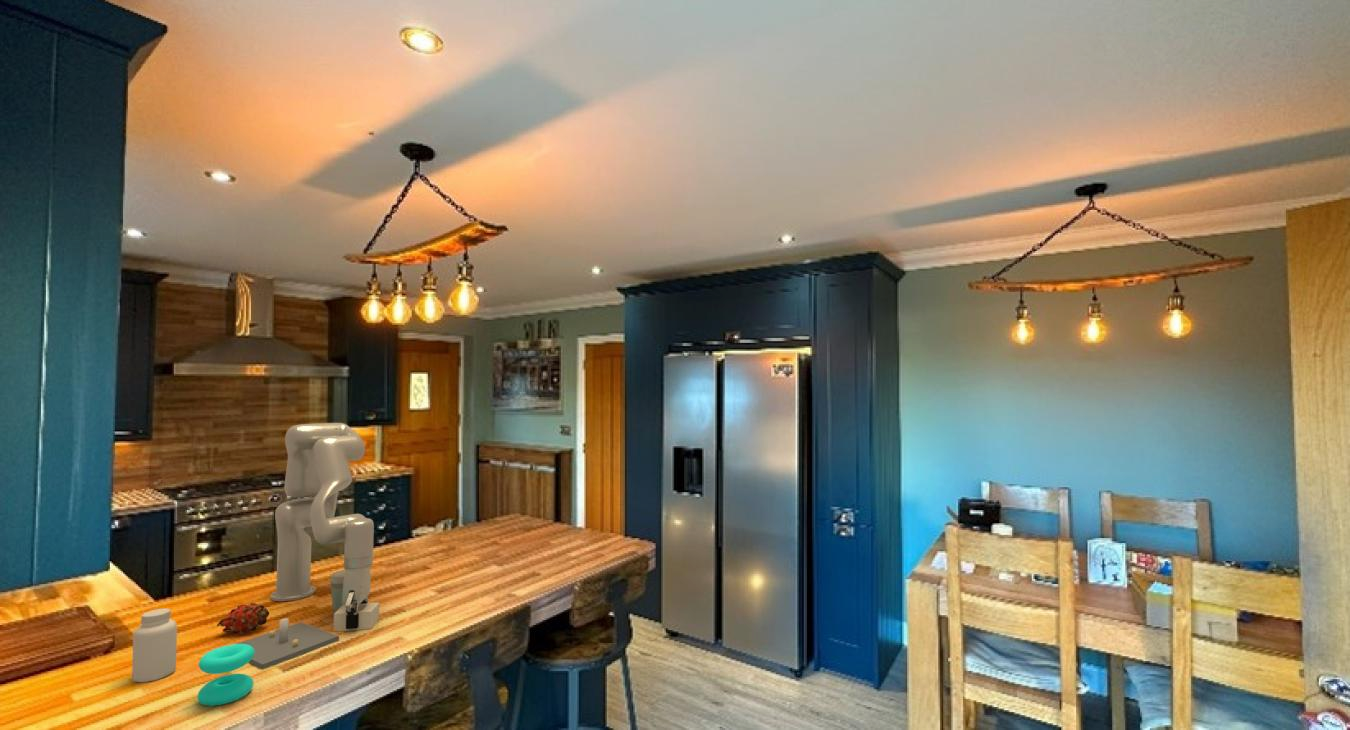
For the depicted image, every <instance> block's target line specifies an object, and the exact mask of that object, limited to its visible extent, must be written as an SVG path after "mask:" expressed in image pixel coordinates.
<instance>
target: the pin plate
mask: <svg viewBox="0 0 1350 730" xmlns="http://www.w3.org/2000/svg"><path fill="white" fill-rule="evenodd" d="M289 621H290V620H289V618H288V617H284V618H281V619H279V629H272V630H269V632H267V633H263V634H260V635H257V636H254V637H252V638H248V639H245V640H243V641H240V642H236V643H235V644H247V645H250V646H252V647H253V649H254V656H253V658H252V659H251V660H250V661H249V662H248V663H247V664H250V665H252V666H255V667H256V668H259V669H261V670H265V669H267V668H270V667H273V666H275V665H278V664H280V663H283V662H286V661H288V660H291V659H293V658H296V657H298V656H302V655H304V654H307V653H309V652H312V651H315V650H317V649H320V648H322V647H325V646H328V645H331V644H333V643H335V642H338V641H340V635H338V634H335V633H332V632H330V631H327V630H323V629H322V628H319V627H316V626H313V625H311V624H307V623H305V622H302V621H300V622H296V623H294V624H291V625H289V623H290V622H289Z"/></svg>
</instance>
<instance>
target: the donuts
mask: <svg viewBox="0 0 1350 730" xmlns="http://www.w3.org/2000/svg"><path fill="white" fill-rule="evenodd" d="M253 656H254V649H253V647H252V646H250V645H247V644H236V643H233V644H229V645H223V646H221V647H217V648H215V649H212V650H209V651H208V652H206V653H205V654H204V655H203V656H201V657H200V660H198V668H199V670H200V671H202V672H203V673H205V674H209V675H218V674H219V675H220V674H225V673H230V672H234V671H236V670H238V669H241V668H243V667H244V666H246V665H247V664H249V663H248V662H249V661H250V660H251V659H252V658H253ZM253 687H254V679H253V678H252V677H251V676H250V675H248V674H245V673H230V674H226V675H222V676H218V677H216V678H213V679H212V680H211V681H208V682H207V683H206V684H204V685H203V686H202V687H201V688H200V690H199V691H198V693H197V701H198V702H199V704H201V705H204V706H208V707H210V706H211V707H212V706H213V707H215V706H220V705H226V704H229V703H233V702H235V701H237V700H240V699H242V698H243V697H245V696H246V695H247V694H248V693H250V692H251V691H252V689H253Z"/></svg>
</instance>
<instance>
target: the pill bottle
mask: <svg viewBox="0 0 1350 730" xmlns="http://www.w3.org/2000/svg"><path fill="white" fill-rule="evenodd" d="M171 611H172V610H171V609H170V608H157V609H151V610H149V611H146V612H144V613H142V614H141V618H140V625H139V626H138V627H137V628H136V629H135V630H134V632H133V634H132V663H131V665H132V666H131V669H132V670H131V671H132V673H131V678H132V681H133V682H135V683H147V682H152V681H156V680H159V679H162V678H165V677H167V676H169V675H171V674H172V673H174V672H175V670H176V668H177V647H178V646H177V645H178V643H177V642H178V641H177V638H178V637H177V636H178V624H177V622H176V621H175V620H173V619H171V615H172V614H171V613H172V612H171Z"/></svg>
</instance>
